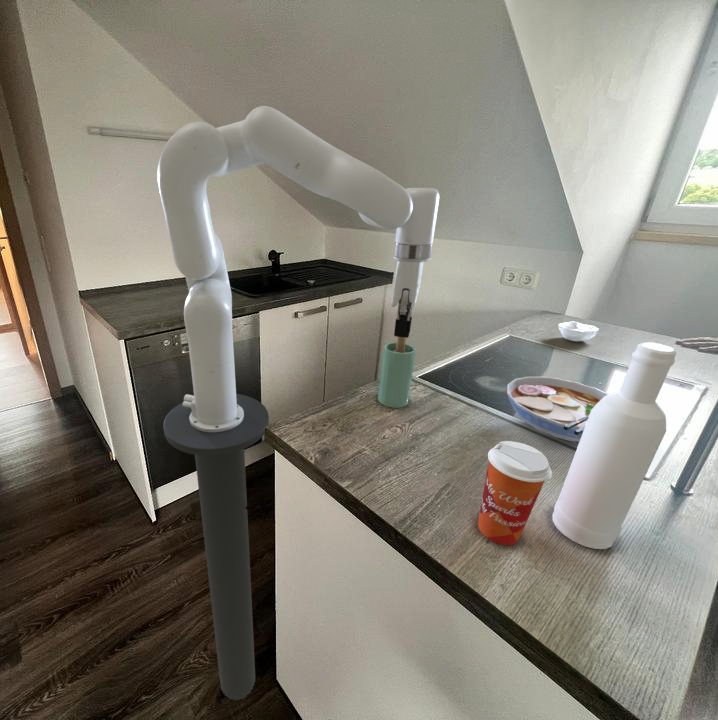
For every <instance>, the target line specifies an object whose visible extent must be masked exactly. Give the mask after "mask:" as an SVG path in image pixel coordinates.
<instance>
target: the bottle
mask: <svg viewBox="0 0 718 720" xmlns="http://www.w3.org/2000/svg"><path fill="white" fill-rule="evenodd" d="M676 355H677V351H676V350H675V348H674V347H672V346H668V345H666V344H661V343H658V342H657V343H656V342H648V341H647V342H641V343H638V344H637V346H636V348H635V350H634V351H633V352H632V354H631V358H632V359H631V360H630V363H629V366H628V368H627V371H626V374H625V376H624V378H623V382H622V384H621V386H620V389H619V391H616V392H613V393H611V394H610V393H609V394H610V395H607V396H604V397H603V398H602V399H601V400H600V401H599V402H598V403H597V404H596V405H595V406H594V407H593V409H592V410H591V412H590V415H589V417H588V420H587V423H586V425H585V428H584V431H583V434H582V436H581V439H580V442H578V445H577V447H576V450H575V453H574V456H573V458H572V461H571V464H570V466H569V469H568V472H567V474H566V478H565V480H564V481H563V482H564V483H563V485H562V488H561V491H560V493H559V497H558V499H557V500H556V502H555V505H554V509H553V513H552V522H553V524H554V526H555V528H556V529H557V530H558V531H559V532H560V533H561V534H562V535H563V536H565V537H566V538H568V539H569V540H570V541H572V542H574V543H576V544H579V545H580V546H582V547H586V548H590V549H592V550H606V549H609V548H611V547H612V546H613V545H614V543H615V542H616V540H617V538H618V536H619V534H620V533H621V531H622V526H623V524H624V522H625V520H626V518H627V516H628V513H629V511H630V509H631V507H632V506H633V503H634V502H635V499H636V497H637V495H638V492H639V490H640V488H641V486H642V484H643V481H644V480H645V477H646V476H647V473H648V471H649V469H650V466H651V465H652V463H653V460H654V458H655V456H656V454H657V452H658V450H659V447H660V446H661V443H662V441H663V439H664V437H665V435H666V433H667V415H666V413H665V412H664V410H663V409H662V408H661V406H660V405H659V404H658V403H657V398H658V396H659V394H660V392H661V389H662V387H663V385H664V383H665V380H666V379H667V376H668V373H669V371H670V369H671V367H672V366H673V365H674V364H675V363H676Z"/></svg>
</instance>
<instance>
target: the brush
mask: <svg viewBox="0 0 718 720" xmlns="http://www.w3.org/2000/svg"><path fill="white" fill-rule="evenodd" d="M407 311H408V310H407ZM396 342H397V344H396V350H393V351H394V352H399V353H408V352H406V351H405V345H406V344H407V338H404V337H396Z"/></svg>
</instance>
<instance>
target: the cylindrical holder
mask: <svg viewBox="0 0 718 720" xmlns="http://www.w3.org/2000/svg"><path fill="white" fill-rule="evenodd" d="M396 344H397V341H396V342H395V341H393V342H387V343H385V344H384V345H383V348H382V358H381V366H380V367H381V368H380V376H379V385H378V392H377V393H378V394H377V395H378V396H377V401H378V402H379V403H380V404H381V405H382V406H385V407H388V408H393V409H399V408H400V409H401V408H405V407H406V406H407V405H408V404H409V400H410V391H411V386H412V379H413V372H414V365H415V358H416V353H417V348H416V346H414V345H412V344H410V343H406V345H405V351H406V352H408V353H399V352H394V351H393V350H396Z"/></svg>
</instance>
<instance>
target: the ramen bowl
mask: <svg viewBox="0 0 718 720" xmlns="http://www.w3.org/2000/svg"><path fill="white" fill-rule="evenodd" d="M506 394H507V396H508V400H509V402H510V404H511V406H512V408H513V409H514V411H515V412H516V413H517V415H518V416H519V417H520V418H521V419H522V420H523V421H524V422H525V423H527V424H528V425H529V426H531V427H532V428H534V429H536V430H538V431H539V432H541V433H543V434H546V435H548V436H551V437H554V438H557V439H561V440H565V441H570V442H575V443H576V442H577V443H579V442H580V439H581V436H582V434H583V431H584V428H585V425H586V423H587V420H588V417H589V415H590V412H591V410H592V409H593V407H594V406H595V405H596V404H597V403H598V402H599V401H600V400H601V399H602V398H603V397H604V396H607V395H610V393H608V392H606V391H603V390H601V389H599V388H596V387H594V386H593V387H592V386H590V385H586V384H583V383H580V382H576V381H573V380H568V379H563V378H556V377H551V376H532V375H531V376H523V377H518V378H515V379H512V381H510V382H509V383H507V386H506Z"/></svg>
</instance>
